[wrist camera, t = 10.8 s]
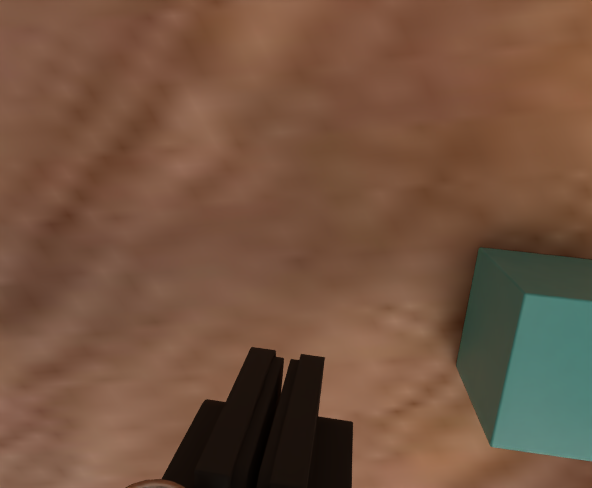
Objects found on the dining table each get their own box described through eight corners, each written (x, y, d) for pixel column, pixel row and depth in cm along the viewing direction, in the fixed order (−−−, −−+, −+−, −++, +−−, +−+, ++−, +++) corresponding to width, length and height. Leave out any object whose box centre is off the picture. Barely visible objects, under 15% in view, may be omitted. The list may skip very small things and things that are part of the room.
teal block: (455, 366, 19) (489, 447, 15) (478, 246, 18) (524, 293, 13) (584, 383, 19) (664, 472, 14) (617, 262, 18) (717, 315, 13)
